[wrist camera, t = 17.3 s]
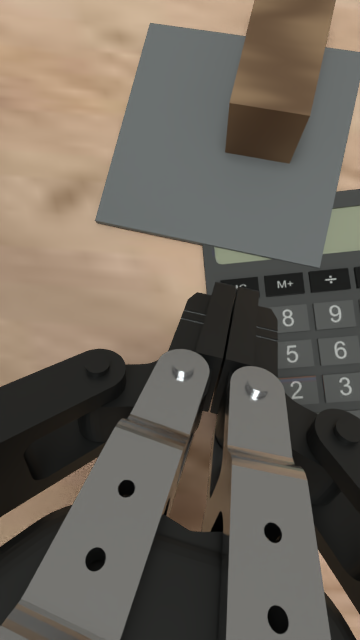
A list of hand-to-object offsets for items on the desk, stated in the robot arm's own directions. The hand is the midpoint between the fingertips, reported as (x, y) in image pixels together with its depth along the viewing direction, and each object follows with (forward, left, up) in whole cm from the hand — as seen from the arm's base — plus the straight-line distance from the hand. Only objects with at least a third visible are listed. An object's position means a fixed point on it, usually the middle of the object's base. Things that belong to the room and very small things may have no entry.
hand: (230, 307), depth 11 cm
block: (0, +11, -6) cm, 12 cm away
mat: (-2, +12, -8) cm, 14 cm away
